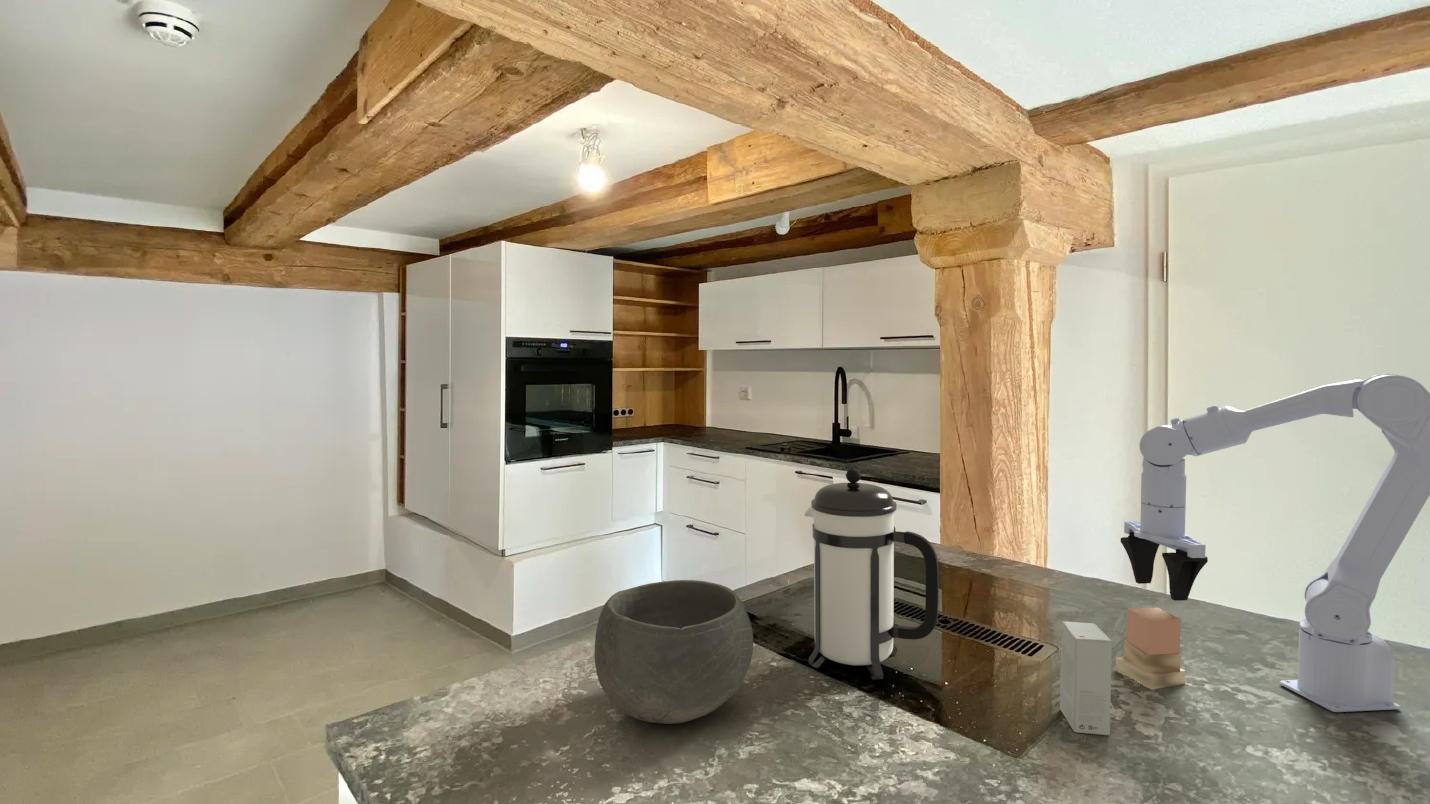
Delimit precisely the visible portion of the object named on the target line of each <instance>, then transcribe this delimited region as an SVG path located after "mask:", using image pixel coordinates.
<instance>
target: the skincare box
mask: <svg viewBox="0 0 1430 804" xmlns="http://www.w3.org/2000/svg"><path fill="white" fill-rule="evenodd" d="M1060 643H1061V645H1060V646H1061V648H1060V649H1061V650H1060V651H1061V652H1060V689H1059V690H1060V691H1059V692H1060V695H1059V696H1060V697H1059V709H1060V712H1061V713H1062V715H1063V716H1064V717H1065V719H1066V720H1067V722H1068V725H1069V726H1070V727H1071V729H1072V732H1074V733H1078V734H1091V735H1102V736H1110V734H1111V700H1112V698H1111V696H1112V693H1111V692H1112V659H1113V658H1112V654H1113V653H1112V652H1113V651H1112V650H1113V649H1112V648H1113V641H1112V640H1111V639H1110V638H1109V636H1107V635H1106V633H1105V632H1104V631H1102V629H1100V627H1099V626H1097V625H1096V623H1093V622H1092V623H1091V622H1079V621H1078V622H1077V621H1066V620H1065V621H1064V620H1063V621H1062V622H1061V642H1060Z"/></svg>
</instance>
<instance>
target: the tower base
mask: <svg viewBox="0 0 1430 804" xmlns="http://www.w3.org/2000/svg"><path fill="white" fill-rule="evenodd" d="M1117 671H1118V672H1117ZM1115 672H1117V673H1119V674H1121V675H1123V676H1125V675H1126V676H1128V677H1130V678H1132V679H1134V680H1135V681H1134V680H1133V681H1134V682H1136V681H1138V682H1140V683H1141V684H1140V683H1139V684H1140V685H1142V684H1143V685H1142V686H1143V687H1146V688H1148V689H1150V690H1157V689H1162V688H1170V687H1175V686H1179V685H1180V684H1181V685H1186V670H1185V669H1183V668H1182V667H1180V672H1144V671H1142V670H1141V669H1140V668H1138V667H1137V666H1136V665H1135V664H1133V663H1132V662H1131V661H1129V660H1128V659H1127V658H1126V657H1124V656H1119V657H1115ZM1126 676H1125V677H1126ZM1128 677H1127V678H1128ZM1130 678H1129V679H1130ZM1132 679H1131V680H1132ZM1138 682H1137V683H1138Z"/></svg>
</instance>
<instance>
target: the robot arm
mask: <svg viewBox="0 0 1430 804" xmlns="http://www.w3.org/2000/svg"><path fill="white" fill-rule="evenodd" d="M1354 410H1358V411H1359V412H1360V413H1361V415H1363V416H1364V417H1365V418H1366V419H1367V420H1369V421H1370V422H1371V423H1372V424H1373V425H1375V426H1376V427H1378V428H1379V429H1380V430H1381V433H1382V435H1384V438H1385V439H1386V440H1387V442H1388V444H1390V446H1391V448H1392V449H1393V451H1394V454H1393V455H1392V457H1391V459H1390V460H1389V462H1388V464H1387V465H1386V468H1385V469H1384V471H1383V473H1382V475H1381V477H1380V478H1379V481H1378V482H1377V483H1376V486H1375V487H1374V489H1373V491H1372V493H1371V495H1370V496H1369V498H1368V500H1367V502H1366V504H1364V507H1363V509H1362V511H1361V512H1360V514H1359V516H1358V518H1357V519H1356V521H1355V523H1354V525H1353V527H1352V528H1351V530H1350V532H1349V534H1348V536H1347V538H1346V539H1345V541H1344V543H1343V545H1342V546H1341V548H1340V550H1339V552H1338V554H1337V555H1336V557H1335V558H1334V559H1333V560H1331V562H1330V563H1329V564H1328V566H1327V568H1326V570H1324V573H1322V574H1321V575H1320V576H1318V577H1316V578H1314V579H1312V580H1311V581H1310V582H1309V583H1308V584H1306V587H1305V590H1304V599H1305V602H1306V604H1305V607H1304V616H1305V618H1304V619H1302V620H1301V621H1300V622H1299V631H1298V657H1297V658H1298V659H1297V661H1298V662H1297V679H1288V680H1287V679H1286V680H1280V681H1279V684H1280V685H1281V686H1283V687H1285V688H1286V689H1288V690H1290V691H1292V692H1294V693H1296V694H1298V695H1300V696H1302V697H1304V698H1306V699H1308V700H1309V701H1311V702H1313V703H1315V704H1317V705H1318V706H1321V707H1323V708H1324V709H1327V710H1328V711H1330V712H1334V713H1344V712H1347V713H1348V712H1365V711H1367V712H1369V711H1386V710H1388V711H1389V710H1400V707H1401V705H1399V704H1398V703H1396V702H1394V688H1395V685H1394V684H1395V668H1396V667H1395V666H1396V665H1395V663H1396V662H1395V655H1394V653H1393V650H1392V649H1391V647H1390V645H1389V644H1388V642H1386V641H1385V640H1384V639H1383V638H1382V637H1380V636H1379V635H1377V634H1375V633H1374V632H1371V631H1369V630H1370V628H1371V623H1372V619H1371V612H1370V611H1371V606H1372V604H1373V602H1374V600H1375V599H1376V596H1377V592H1378V589H1379V585H1380V582H1381V579H1382V577H1383V575H1385V572H1386V571H1387V569H1388V567H1389V565H1390V564H1391V562H1392V560H1393V559H1394V557H1395V556H1396V554H1397V552H1398V550H1399V549H1400V547H1401V545H1402V544H1403V541H1404V540H1405V538H1406V537H1407V535H1408V533H1409V531H1410V530H1411V528H1412V526H1413V524H1414V523H1415V521H1416V519H1417V518H1418V516H1419V514H1420V512H1421V511H1422V509H1423V508H1424V506H1425V504H1426V502H1427V500H1429V497H1430V392H1429V391H1428V390H1427V388H1426V387H1425V386H1424V385H1422V383H1420V382H1419V381H1417V380H1416V379H1414V378H1412V377H1408V376H1404V375H1399V374H1394V373H1382V374H1380V373H1379V374H1375V375H1372V376H1369V377H1367V378H1365V379H1364V380H1363V379H1360V378H1358V379H1357V378H1356V379H1351V380H1346V381H1340V382H1335V383H1329V384H1325V385H1320V386H1318V387H1314V388H1311V389H1307V390H1306V391H1305V390H1304V391H1301V392H1300V393H1299V392H1298V393H1296V394H1295V393H1294V394H1292V395H1289V396H1286V397H1283V398H1280V399H1277V400H1274V401H1271V402H1267V403H1264V404H1261V405H1258V406H1254V407H1252V408H1248V409H1245V410H1241V409H1238V408H1235V407H1233V406H1229V405H1225V406H1222V407H1219V406H1218V405H1217V404H1215V405H1212V406H1208V407H1207V408H1206V412H1202V413H1200V414H1195V415H1193V416H1189V417H1186V418H1182V419H1180V418H1179V417H1175V418H1172V419H1170V424H1171V425H1169V424H1161V425H1158V426H1157V425H1156V426H1155V427H1154V428H1151V429H1149V430H1148V431H1146V432H1145V433H1144V434H1143V435H1142V437H1141V438H1140V440H1139V441H1140V442H1139V451H1140V454H1141V455H1142V457H1143V458H1142V462H1141V463H1142V464H1141V465H1142V472H1141V480H1140V482H1141V483H1140V485H1141V486H1140V521H1137V520H1133V521H1132V520H1130V521H1129V520H1128V521H1126V520H1125V521H1124V523H1123V524H1124V525H1123V526H1124V527H1123V528H1124V529H1123V530H1124V531H1123V533H1124V534H1126V535H1127V536H1123V537H1120V543H1121V544H1122V547H1123V548H1124V549H1125V552H1126V554H1127V556H1128V559H1129V561H1130V562H1129V563H1130V565H1131V569H1132V572H1133V573H1132V574H1133V576H1134V581H1135V584H1138V585H1139V584H1141V585H1143V584H1152V580H1153V575H1154V566H1155V560H1156V556H1157V552H1158V550H1159V548H1160V546H1162V547H1166V548H1168V549H1170V550H1171V549H1172V550H1174V551H1175V552H1174V551H1173V552H1162V553H1161V556H1162V558H1163V560H1164V563H1165V566H1166V570H1167V573H1168V584H1169V595H1170V599H1171V600H1173V601H1177V602H1178V601H1188V599H1189V595H1190V593H1191V590H1192V588H1193V585H1194V582H1195V580H1196V578H1197V577H1198V574H1199V573H1200V571H1201V570H1203V567H1204V566H1206V564H1207V563H1208V561H1209V559H1208V558H1209V557H1208V556H1207V555H1206V544H1205V543H1202V542H1200V541H1197V539H1194V538H1193V537H1191V536H1190V535H1189V534H1186V506H1187V505H1186V504H1187V503H1186V501H1187V475H1186V459H1185V457H1186V456H1193V457H1198V456H1199V457H1200V456H1203V455H1206V454H1210V453H1214V452H1218V451H1221V450H1224V449H1225V450H1226V449H1229V448H1232V447H1237V446H1239V445H1243V444H1246V443H1247V442H1248V440H1249V437H1250V436H1251V435H1252V433H1253V432H1254V431H1258V430H1259V431H1260V430H1263V429H1267V428H1271V427H1274V426H1275V427H1276V426H1279V425H1282V424H1287V423H1291V422H1294V421H1300V420H1303V419H1307V418H1312V417H1314V416H1319V415H1331V416H1337V417H1347V418H1354Z"/></svg>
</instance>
